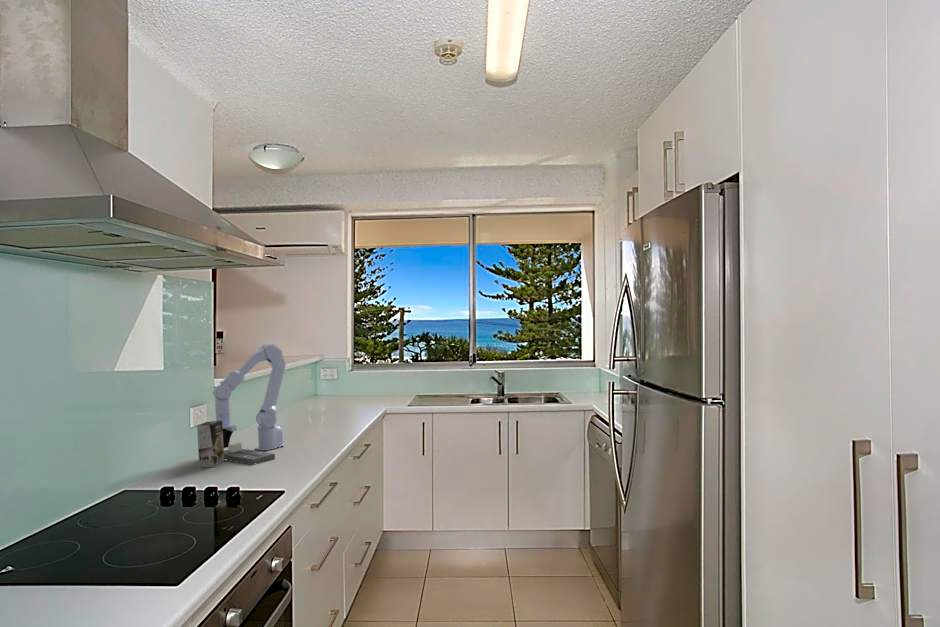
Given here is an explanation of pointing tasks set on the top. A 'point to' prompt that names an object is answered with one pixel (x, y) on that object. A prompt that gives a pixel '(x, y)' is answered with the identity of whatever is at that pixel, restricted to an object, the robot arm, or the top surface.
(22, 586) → the top surface
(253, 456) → the fader panel
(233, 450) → the fader knob
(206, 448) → the coffee box
